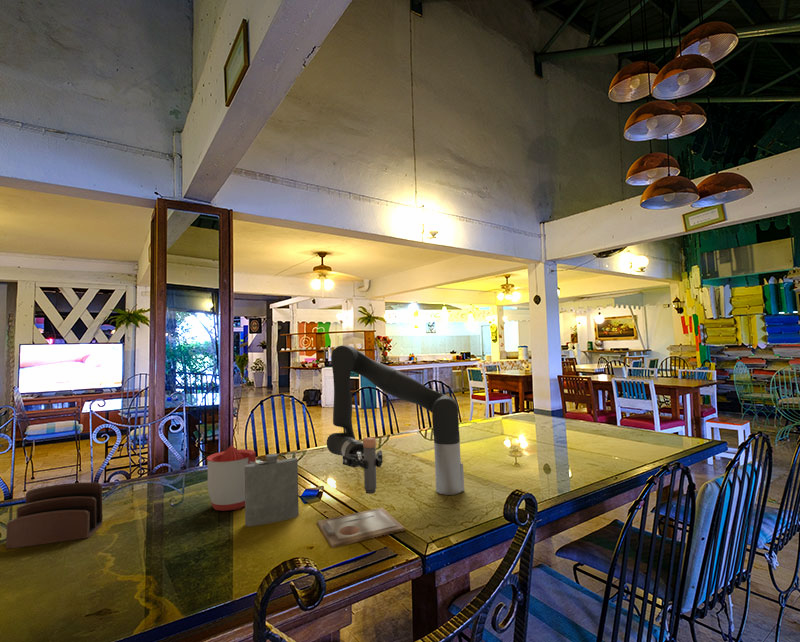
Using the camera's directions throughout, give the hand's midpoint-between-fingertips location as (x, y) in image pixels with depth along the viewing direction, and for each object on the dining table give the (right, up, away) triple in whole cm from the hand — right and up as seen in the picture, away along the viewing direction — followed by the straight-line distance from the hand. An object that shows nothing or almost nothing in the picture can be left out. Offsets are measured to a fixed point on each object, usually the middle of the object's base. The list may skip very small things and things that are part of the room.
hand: (373, 464), depth 125 cm
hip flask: (-31, -19, +4) cm, 37 cm away
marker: (-1, -9, +2) cm, 9 cm away
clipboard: (-4, -17, -3) cm, 18 cm away
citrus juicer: (-49, -20, +18) cm, 56 cm away
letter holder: (-93, -21, -2) cm, 95 cm away
